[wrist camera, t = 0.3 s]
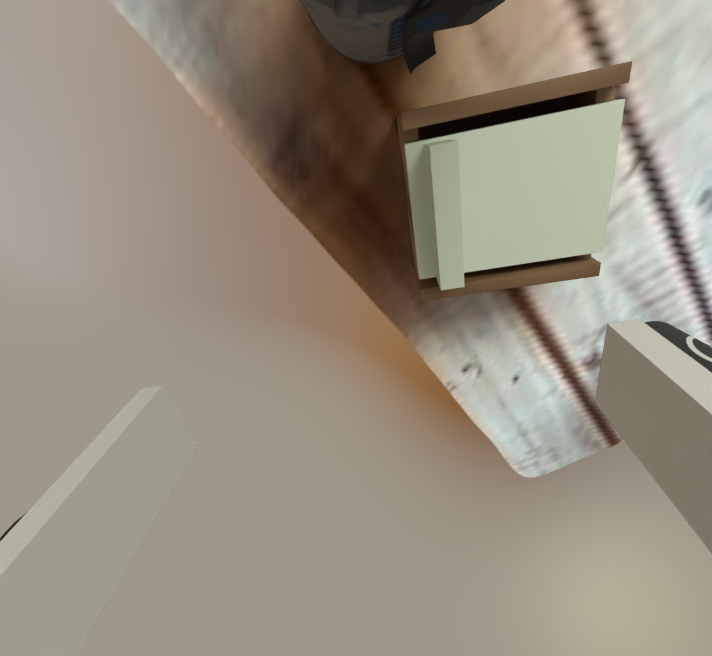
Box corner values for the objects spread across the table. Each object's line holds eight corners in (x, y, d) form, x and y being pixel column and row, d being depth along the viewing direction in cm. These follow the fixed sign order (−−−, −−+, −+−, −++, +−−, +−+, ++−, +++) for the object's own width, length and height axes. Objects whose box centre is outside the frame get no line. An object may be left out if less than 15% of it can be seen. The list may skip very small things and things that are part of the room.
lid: (403, 143, 24) (407, 146, 20) (613, 100, 22) (660, 94, 18) (418, 273, 28) (423, 295, 24) (593, 247, 26) (627, 266, 23)
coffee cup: (620, 303, 36) (756, 403, 23) (714, 313, 36) (905, 419, 23) (581, 377, 40) (676, 495, 28) (664, 386, 40) (798, 508, 27)
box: (396, 116, 29) (401, 112, 22) (564, 79, 27) (632, 61, 20) (413, 265, 35) (421, 300, 28) (551, 243, 33) (598, 275, 26)
